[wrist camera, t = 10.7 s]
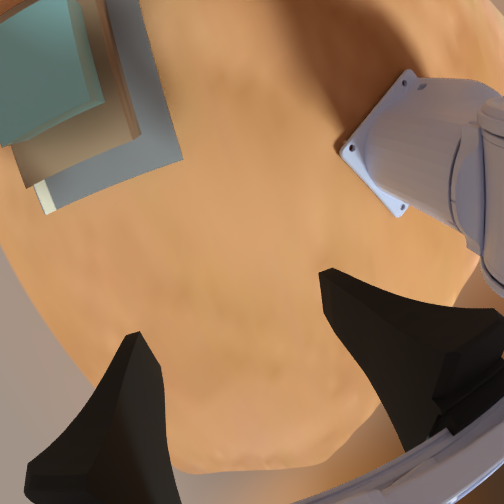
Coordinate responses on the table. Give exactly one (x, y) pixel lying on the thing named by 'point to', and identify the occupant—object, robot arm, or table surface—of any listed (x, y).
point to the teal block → (44, 69)
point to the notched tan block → (90, 121)
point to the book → (147, 112)
